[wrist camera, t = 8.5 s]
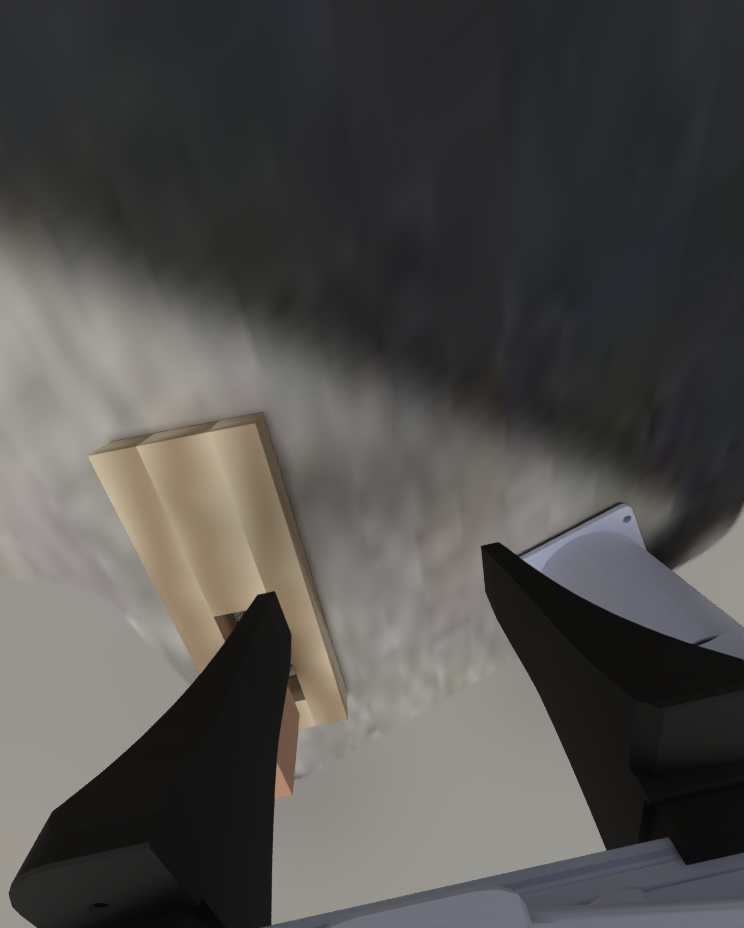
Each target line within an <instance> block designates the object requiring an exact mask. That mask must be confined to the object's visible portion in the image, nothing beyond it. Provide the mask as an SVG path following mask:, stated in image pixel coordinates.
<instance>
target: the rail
mask: <svg viewBox="0 0 744 928" xmlns="http://www.w3.org/2000/svg"><path fill="white" fill-rule="evenodd" d="M88 458H89V459H90V461H91V463H92V465H93V467H94V469H95V471H96V473H97V475H98V477H99V479H100V481H101V483H102V485H103V487H104V489H105V491H106V492H107V494H108V496H109V498H110V500H111V502H112V504H113V506H114V508H115V510H116V512H117V514H118V516H119V518H120V520H121V522H122V524H123V525H124V527H125V529H126V531H127V533H128V535H129V537H130V539H131V541H132V543H133V545H134V547H135V549H136V551H137V553H138V555H139V556H140V558H141V560H142V562H143V564H144V566H145V568H146V570H147V572H148V574H149V576H150V578H151V580H152V582H153V584H154V586H155V588H156V589H157V591H158V593H159V595H160V597H161V599H162V601H163V603H164V605H165V607H166V609H167V611H168V613H169V615H170V617H171V619H172V621H173V622H174V624H175V626H176V628H177V630H178V632H179V634H180V636H181V638H182V640H183V642H184V644H185V646H186V648H187V650H188V652H189V654H190V655H191V657H192V659H193V661H194V663H195V665H196V667H197V669H198V671H199V673H200V674H201V673H202V671H203V670H204V669H205V668H206V666H207V665H208V664H209V662H210V661H211V660H212V658H213V657H214V656H215V655H216V653H217V652H218V651H219V649H220V648H221V647H222V645H223V644H224V642H225V641H226V640H227V638H228V637H229V635H230V634H231V632H232V631H233V630H234V628H235V627H236V622H235V620H234V618H233V615H232V613H235V612H240V611H245V610H247V609H248V608H249V606H250V605H251V603H252V602H253V600H254V599H255V597H256V596H257V595H258V594H263V593H267V592H272V591H275V592H276V595H277V598H278V600H279V603H280V606H281V608H282V611H283V613H284V616H285V619H286V621H287V624H288V626H289V629H290V632H291V634H292V637H291V665H293V667H294V669H295V672H296V676H291V677H289V680H288V686H289V689H290V691H291V694H292V696H293V699H294V701H295V704H296V707H297V709H298V712H299V714H300V716H299V728H298V729H303V728H308V727H313V726H317V725H322V724H327V723H332V722H337V721H341V720H346V719H348V716H347V691H346V688H345V685H344V681H343V678H342V675H341V672H340V668H339V665H338V662H337V658H336V655H335V652H334V648H333V645H332V642H331V638H330V635H329V632H328V628H327V625H326V622H325V618H324V615H323V612H322V608H321V605H320V602H319V598H318V595H317V592H316V588H315V585H314V582H313V578H312V575H311V572H310V568H309V565H308V562H307V558H306V555H305V552H304V548H303V545H302V542H301V538H300V535H299V532H298V528H297V525H296V522H295V518H294V515H293V512H292V508H291V505H290V502H289V498H288V495H287V492H286V488H285V485H284V482H283V478H282V475H281V472H280V468H279V465H278V462H277V459H276V455H275V452H274V449H273V445H272V442H271V439H270V435H269V432H268V429H267V425H266V422H265V419H264V415H263V412H262V413H256V414H251V415H246V416H241V417H236V418H231V419H226V420H221V421H216V422H210V423H205V424H200V425H195V426H190V427H185V428H180V429H175V430H170V431H164V432H159V433H154V434H149V435H144V436H139V437H134V438H129V439H124V440H118V441H113V442H110V443H108V444H107V445H105V446H103V447H102V448H100V449H98V450H97V451H95V452H94V453H92V454H90V455H89V456H88Z"/></svg>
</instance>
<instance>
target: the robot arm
mask: <svg viewBox="0 0 744 928" xmlns="http://www.w3.org/2000/svg"><path fill="white" fill-rule="evenodd" d="M624 517H626V518H625V519H624ZM481 551H482V561H483V572H484V582H485V592H486V594H487V597H488V599H489V602H490V604H491V607H492V609H493V611H494V613H495V616H496V618H497V620H498V622H499V624H500V625H501V627H502V629H503V631H504V633H505V634H506V636H507V638H508V640H509V641H510V643H511V645H512V647H513V648H514V650H515V652H516V653H517V655H518V657H519V659H520V660H521V662H522V664H523V665H524V667H525V669H526V671H527V673H528V674H529V676H530V678H531V680H532V681H533V683H534V685H535V687H536V689H537V691H538V693H539V695H540V697H541V699H542V701H543V703H544V706H545V707H546V710H547V712H548V714H549V717H550V719H551V721H552V723H553V725H554V727H555V730H556V732H557V734H558V736H559V739H560V741H561V743H562V745H563V748H564V750H565V752H566V754H567V757H568V759H569V761H570V764H571V766H572V768H573V771H574V773H575V775H576V778H577V780H578V782H579V785H580V787H581V789H582V792H583V794H584V796H585V799H586V801H587V804H588V806H589V808H590V811H591V813H592V816H593V818H594V821H595V823H596V826H597V828H598V830H599V833H600V835H601V838H602V840H603V842H604V845H605V848H606V850H607V851H604V852H599V853H594V854H590V855H586V856H581V857H577V858H572V859H567V860H563V861H558V862H555V863H549V864H545V865H541V866H536V867H532V868H527V869H522V870H518V871H514V872H509V873H505V874H500V875H496V876H491V877H487V878H482V879H478V880H473V881H469V882H464V883H460V884H455V885H451V886H446V887H442V888H437V889H433V890H428V891H424V892H419V893H415V894H411V895H406V896H401V897H397V898H392V899H388V900H383V901H379V902H375V903H370V904H365V905H361V906H356V907H352V908H348V909H343V910H338V911H334V912H330V913H325V914H321V915H316V916H311V917H307V918H302V919H298V920H294V921H289V922H284V923H280V924H275V925H271V900H272V852H273V849H272V848H273V822H274V821H273V820H274V801H275V783H276V768H277V753H278V744H279V736H280V729H281V723H282V717H283V710H284V704H285V698H286V692H287V685H288V679H289V672H290V665H291V637H292V634H291V632H290V629H289V626H288V624H287V621H286V619H285V616H284V613H283V611H282V608H281V606H280V603H279V600H278V598H277V595H276V592H275V591H272V592H267V593H263V594H258V595H257V596H256V597H255V599H254V600H253V602H252V603H251V605H250V606H249V608H248V609H247V611H246V612H245V613H244V615H243V616H242V618H241V619H240V621H239V622H238V624H237V625H236V627H235V628H234V630H233V631H232V632H231V634H230V635H229V637H228V638H227V640H226V641H225V642H224V644H223V645H222V647H221V648H220V649H219V651H218V652H217V653H216V655H215V656H214V657H213V658H212V660H211V661H210V662H209V664H208V665H207V666H206V668H205V669H204V670H203V671H202V673H201V674H200V675H199V676H198V678H197V679H196V680H195V681H194V682H193V683H192V685H191V686H190V687H189V688H188V689H187V690H186V691H185V693H184V694H183V695H182V696H181V697H180V698H179V699H178V700H177V702H176V703H175V704H174V705H173V706H172V707H171V708H170V709H169V710H168V711H167V712H166V713H165V714H164V715H163V716H162V717H161V718H160V719H159V720H158V721H157V722H156V723H155V724H154V725H153V726H152V727H151V728H150V729H149V730H148V731H147V732H146V733H145V734H144V735H143V736H142V737H141V738H140V739H139V740H138V741H137V742H135V743H134V744H133V745H132V746H131V747H130V748H129V749H128V750H127V751H126V752H124V753H123V754H122V755H121V756H120V757H119V758H118V759H117V760H115V761H114V762H113V763H112V764H111V765H110V766H109V767H107V768H106V769H105V770H104V771H103V772H101V773H100V774H99V775H98V776H97V777H95V778H94V779H93V780H92V781H90V782H89V783H88V784H87V785H85V786H84V787H83V788H82V789H80V790H79V791H78V792H77V793H75V794H74V795H73V796H72V797H70V798H69V799H68V800H67V801H65V803H63V804H62V805H60V806H59V807H58V808H56V809H55V810H54V811H53V812H52V813H51V815H50V817H49V819H48V820H47V822H46V824H45V825H44V827H43V829H42V831H41V832H40V834H39V836H38V838H37V840H36V841H35V843H34V845H33V847H32V849H31V850H30V852H29V854H28V856H27V858H26V859H25V861H24V863H23V864H22V866H21V868H20V870H19V872H18V873H17V875H16V877H15V879H14V881H13V882H12V884H11V887H10V891H9V897H10V900H11V904H12V907H13V908H14V909H15V910H16V911H17V912H18V913H19V914H20V915H21V916H22V917H24V918H25V919H26V920H28V921H29V922H30V923H32V924H33V925H34V926H36V927H37V928H744V627H743V626H742V625H740V624H739V623H738V622H736V621H735V620H734V619H733V618H731V617H730V616H729V615H728V614H726V613H725V612H724V611H722V610H721V609H720V608H719V607H717V606H716V605H715V604H713V603H712V602H711V601H710V600H708V599H707V598H706V597H705V596H703V595H702V594H701V593H700V592H698V591H697V590H696V589H695V588H693V587H692V586H691V585H689V584H688V583H687V582H686V581H684V580H683V579H682V578H681V577H679V576H678V575H677V574H675V573H674V572H673V571H672V570H670V569H669V568H668V567H667V566H665V565H664V564H663V563H661V562H660V561H659V560H658V559H656V558H655V557H654V556H653V555H651V554H650V553H649V552H647V550H646V547H645V544H644V542H643V539H642V536H641V533H640V530H639V527H638V525H637V522H636V519H635V516H634V513H633V511H632V508H631V507H630V506H628V505H626V504H620V505H618V506H616V507H614V508H612V509H610V510H608V511H607V512H605V513H603V514H601V515H599V516H597V517H595V518H593V519H591V520H589V521H587V522H586V523H584V524H582V525H580V526H578V527H576V528H574V529H572V530H570V531H568V532H566V533H565V534H563V535H561V536H559V537H557V538H555V539H553V540H551V541H549V542H547V543H545V544H544V545H542V546H540V547H538V548H536V549H534V550H532V551H530V552H528V553H526V554H524V555H523V556H521V557H518V556H517V555H516V554H514V553H513V552H511V551H510V550H509V549H507V548H506V547H505V546H503V545H502V544H500V543H499V542H497V543H492V544H488V545H483V546H481Z"/></svg>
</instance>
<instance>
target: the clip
mask: <svg viewBox="0 0 744 928" xmlns="http://www.w3.org/2000/svg"><path fill="white" fill-rule="evenodd" d="M246 611H247V610H245V611H244V612H243V615H244V613H245V612H246ZM288 680H289V679H288ZM299 716H300V714H299V712H298V709H297V707H296V704H295V701H294V699H293V696H292V694H291V691H290V689H289V686H288V685H287V692H286V698H285V704H284V710H283V717H282V723H281V729H280V736H279V744H278V753H277V768H276V783H275V799H277V798H281V797H286V796H291V795H293V784H294V772H295V761H296V750H297V739H298V728H299Z"/></svg>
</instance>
